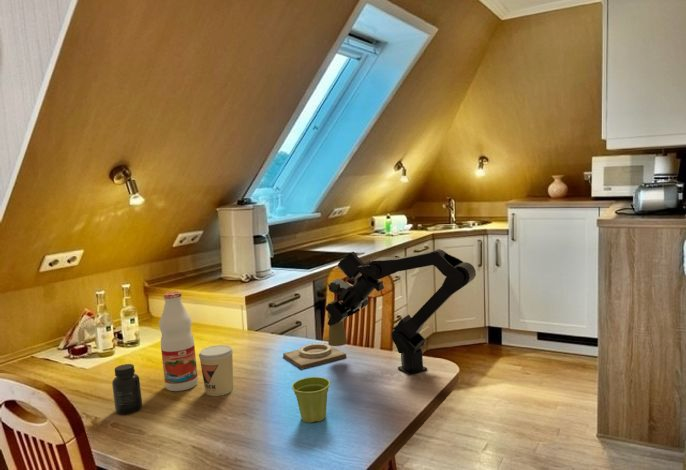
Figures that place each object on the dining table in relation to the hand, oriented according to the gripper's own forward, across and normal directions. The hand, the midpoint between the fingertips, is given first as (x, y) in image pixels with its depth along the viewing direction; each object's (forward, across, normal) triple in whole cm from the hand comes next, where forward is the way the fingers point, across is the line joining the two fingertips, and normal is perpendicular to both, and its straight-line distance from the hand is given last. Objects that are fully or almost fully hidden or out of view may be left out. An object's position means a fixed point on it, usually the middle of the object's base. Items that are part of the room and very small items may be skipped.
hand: (332, 322), depth 175 cm
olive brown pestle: (+4, 0, +6) cm, 7 cm away
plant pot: (-2, +38, +19) cm, 42 cm away
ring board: (+14, 0, +3) cm, 14 cm away
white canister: (+23, +33, -6) cm, 40 cm away
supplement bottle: (+33, +52, -16) cm, 64 cm away
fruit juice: (+32, +34, -15) cm, 49 cm away
